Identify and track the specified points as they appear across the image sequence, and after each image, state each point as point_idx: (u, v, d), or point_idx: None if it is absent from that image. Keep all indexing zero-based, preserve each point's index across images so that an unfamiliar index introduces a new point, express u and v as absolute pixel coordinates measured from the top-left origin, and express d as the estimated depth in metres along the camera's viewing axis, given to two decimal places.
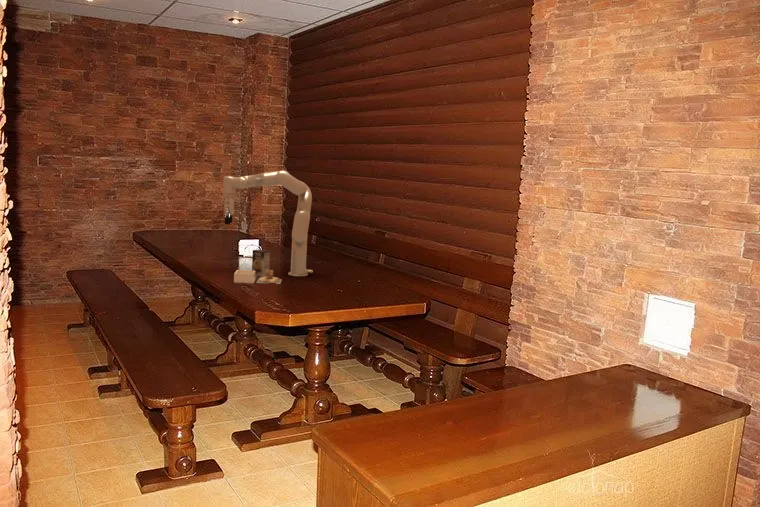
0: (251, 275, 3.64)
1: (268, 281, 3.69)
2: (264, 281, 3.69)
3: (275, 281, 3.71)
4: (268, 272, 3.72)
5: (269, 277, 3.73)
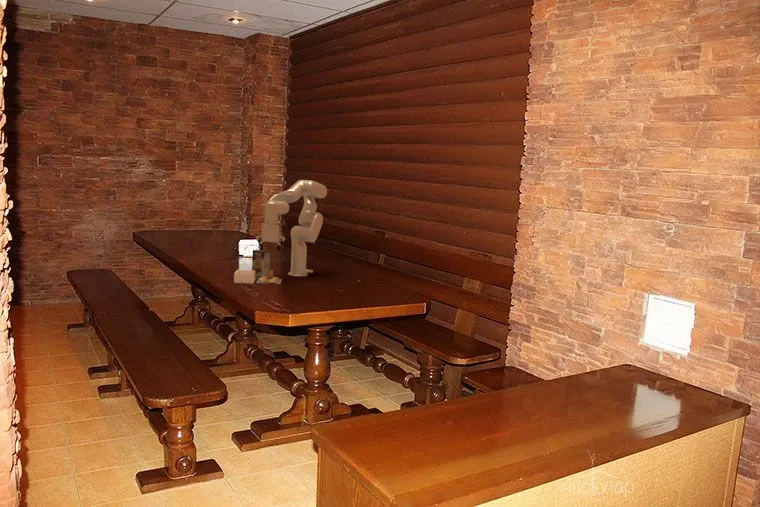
0: (251, 275, 3.64)
1: (268, 281, 3.69)
2: (264, 281, 3.69)
3: (275, 281, 3.71)
4: (268, 272, 3.72)
5: (269, 277, 3.73)
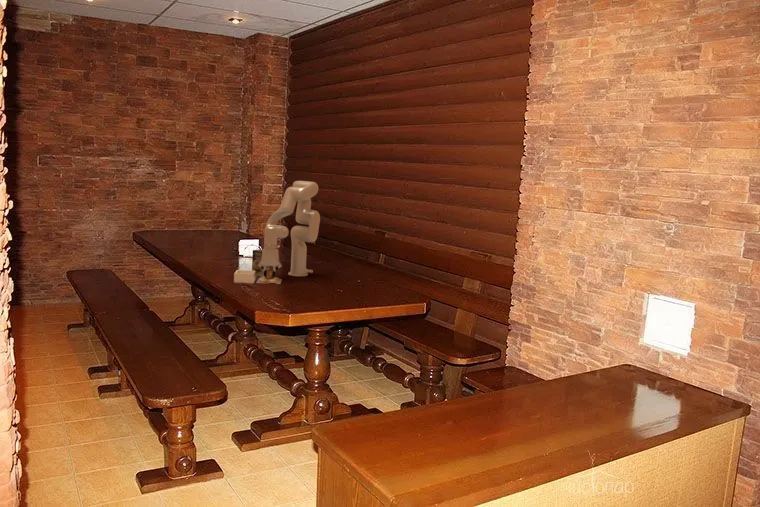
0: (251, 275, 3.64)
1: (268, 281, 3.69)
2: (264, 281, 3.69)
3: (275, 281, 3.71)
4: (268, 272, 3.72)
5: (269, 277, 3.73)
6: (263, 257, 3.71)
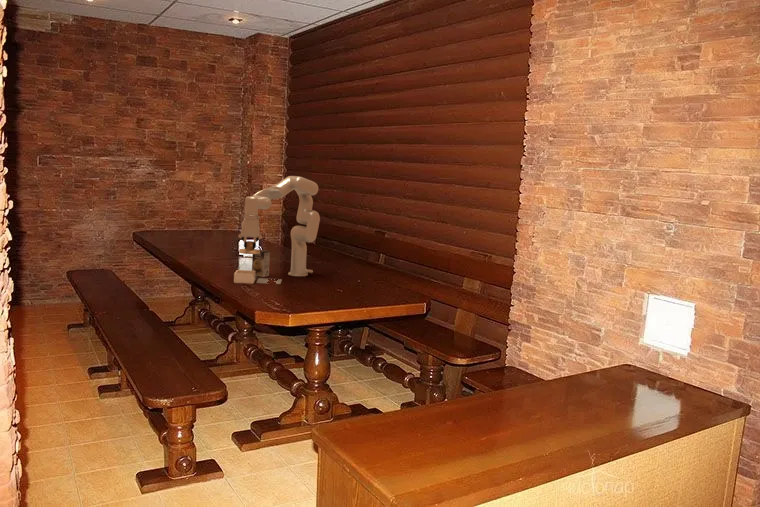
0: (251, 275, 3.64)
1: (248, 252, 3.62)
2: (244, 252, 3.62)
3: (255, 252, 3.64)
4: (248, 243, 3.65)
5: (249, 248, 3.66)
6: (243, 228, 3.64)
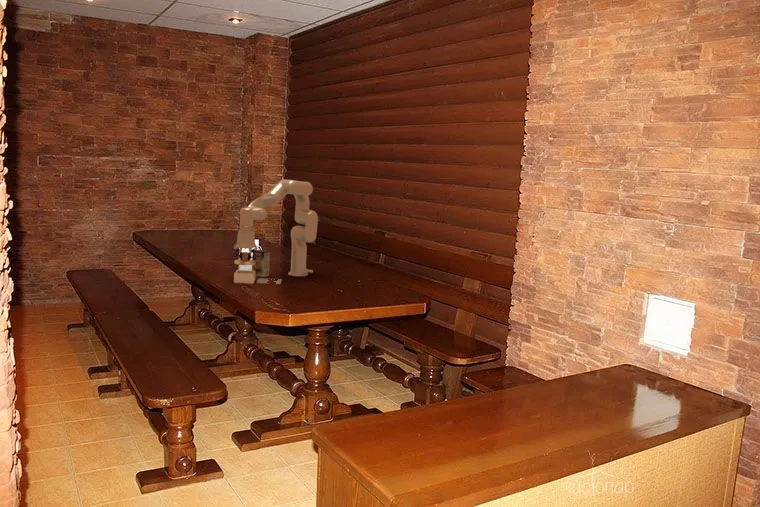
0: (251, 275, 3.64)
1: (243, 263, 3.62)
2: (239, 263, 3.62)
3: (251, 263, 3.64)
4: (244, 254, 3.65)
5: (245, 259, 3.66)
6: (238, 239, 3.64)
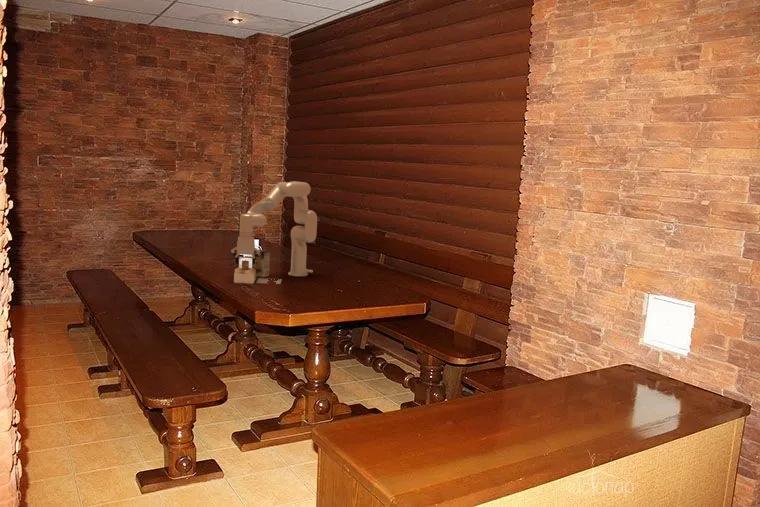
0: (251, 275, 3.64)
1: (243, 272, 3.63)
2: (239, 272, 3.63)
3: (251, 272, 3.65)
4: (244, 263, 3.66)
5: (245, 268, 3.67)
6: (238, 245, 3.64)
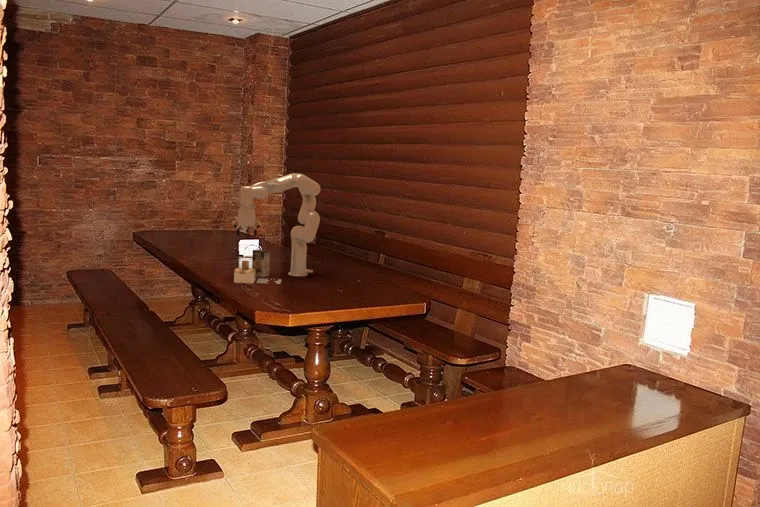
0: (251, 275, 3.64)
1: (243, 272, 3.63)
2: (239, 272, 3.63)
3: (251, 272, 3.65)
4: (244, 263, 3.66)
5: (245, 268, 3.67)
6: (240, 217, 3.69)
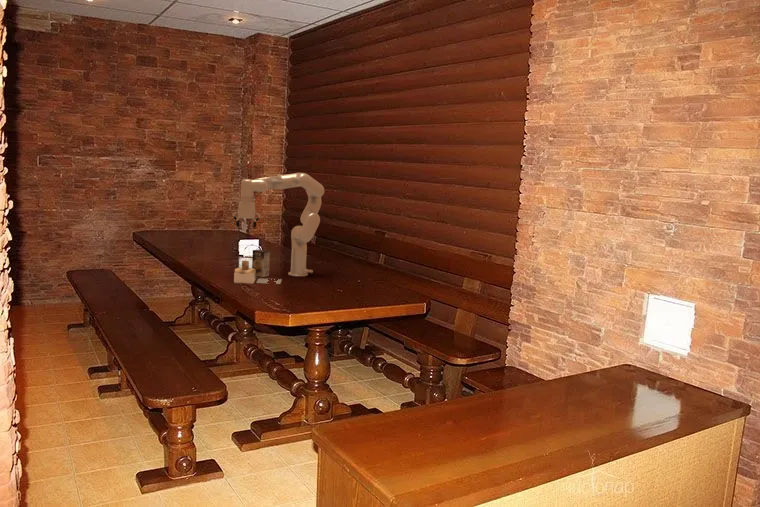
0: (251, 275, 3.64)
1: (243, 272, 3.63)
2: (239, 272, 3.63)
3: (251, 272, 3.65)
4: (244, 263, 3.66)
5: (245, 268, 3.67)
6: (240, 209, 3.77)
